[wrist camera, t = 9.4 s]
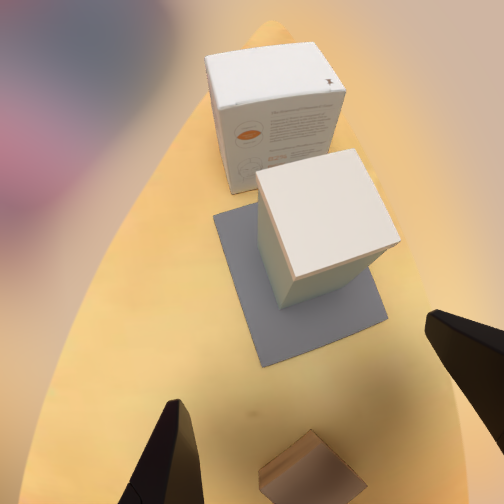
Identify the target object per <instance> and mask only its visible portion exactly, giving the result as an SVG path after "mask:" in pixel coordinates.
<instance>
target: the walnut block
mask: <svg viewBox="0 0 504 504" xmlns="http://www.w3.org/2000/svg"><path fill="white" fill-rule="evenodd" d="M366 487H367V485H366V483H365V482H364V481H363V480H362V479H361V478H360V477H359V476H358V475H357V474H356V473H355V472H354V471H353V470H352V469H351V468H350V467H349V466H348V465H347V464H346V463H345V462H344V461H343V460H342V459H341V458H340V457H339V456H338V455H337V454H336V453H334V452H333V451H332V450H331V449H330V448H329V447H328V446H327V445H326V444H325V443H324V442H323V441H322V440H321V439H320V438H319V437H318V436H317V435H316V434H315V433H314V432H313V431H312V430H310V431H308V432H307V433H306V434H305V435H304V436H303V437H301V438H300V439H299V440H298V441H296V442H295V443H294V444H293V445H292V446H290V447H289V448H288V449H287V450H285V451H284V452H283V453H281V454H280V455H279V456H278V457H276V458H275V459H274V460H272V461H271V462H270V463H268V464H267V465H266V466H264V467H263V468H262V469H260V470H259V490H260V491H261V492H262V493H263V494H264V495H265V496H266V497H267V498H269V499H270V500H271V501H272V502H273V503H274V504H347V503H348V502H349V501H351V500H352V499H353V498H354V497H356V496H357V495H358V494H359V493H360V492H362V491H363V490H364V489H365V488H366Z"/></svg>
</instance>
